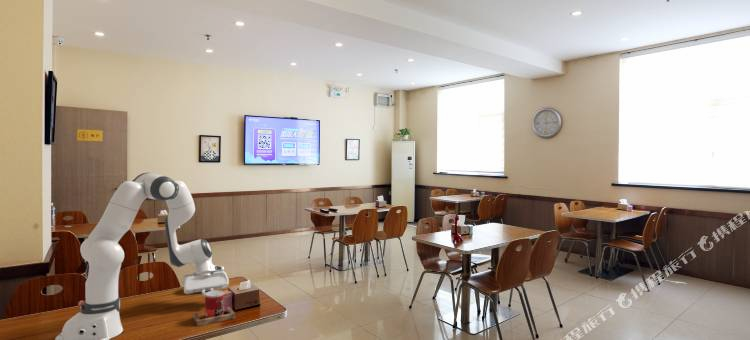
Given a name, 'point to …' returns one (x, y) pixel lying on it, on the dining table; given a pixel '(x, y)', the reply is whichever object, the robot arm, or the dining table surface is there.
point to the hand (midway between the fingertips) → (208, 298)
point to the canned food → (214, 303)
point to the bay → (214, 319)
